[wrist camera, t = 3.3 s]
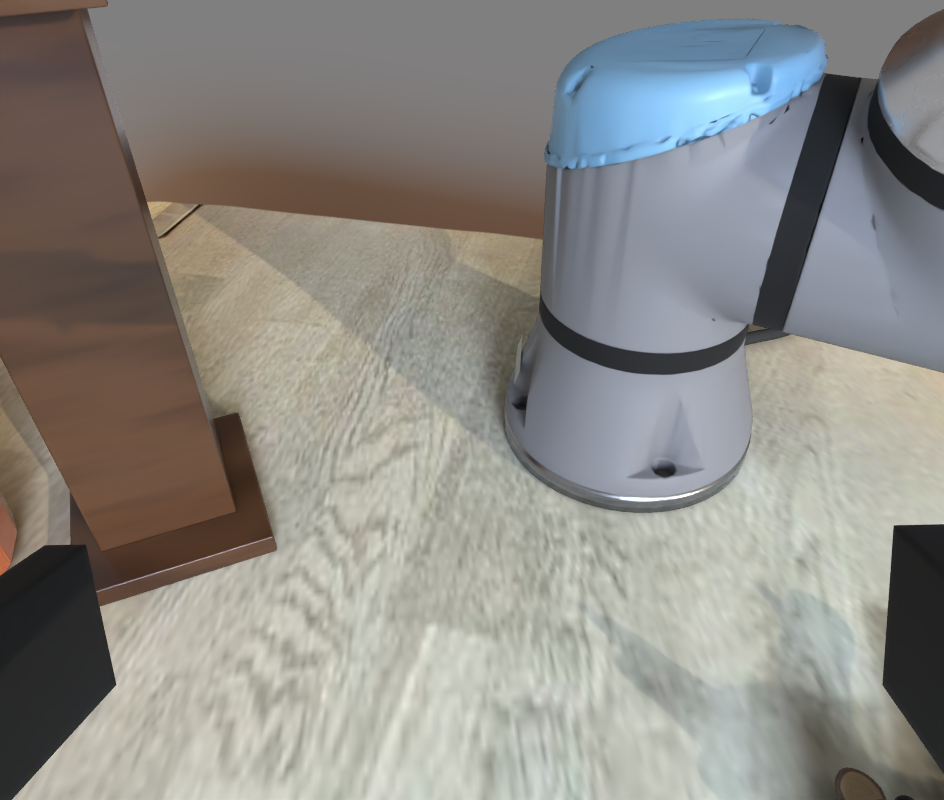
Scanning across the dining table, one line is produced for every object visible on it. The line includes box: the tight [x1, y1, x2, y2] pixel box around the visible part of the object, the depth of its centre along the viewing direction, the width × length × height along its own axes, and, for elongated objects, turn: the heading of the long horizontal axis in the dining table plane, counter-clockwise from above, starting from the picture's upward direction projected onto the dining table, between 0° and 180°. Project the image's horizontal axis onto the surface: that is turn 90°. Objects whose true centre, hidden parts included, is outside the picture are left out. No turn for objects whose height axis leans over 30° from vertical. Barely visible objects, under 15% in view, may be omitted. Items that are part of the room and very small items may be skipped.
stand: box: [0, 0, 277, 606], centre depth 34 cm, size 13×10×28 cm
